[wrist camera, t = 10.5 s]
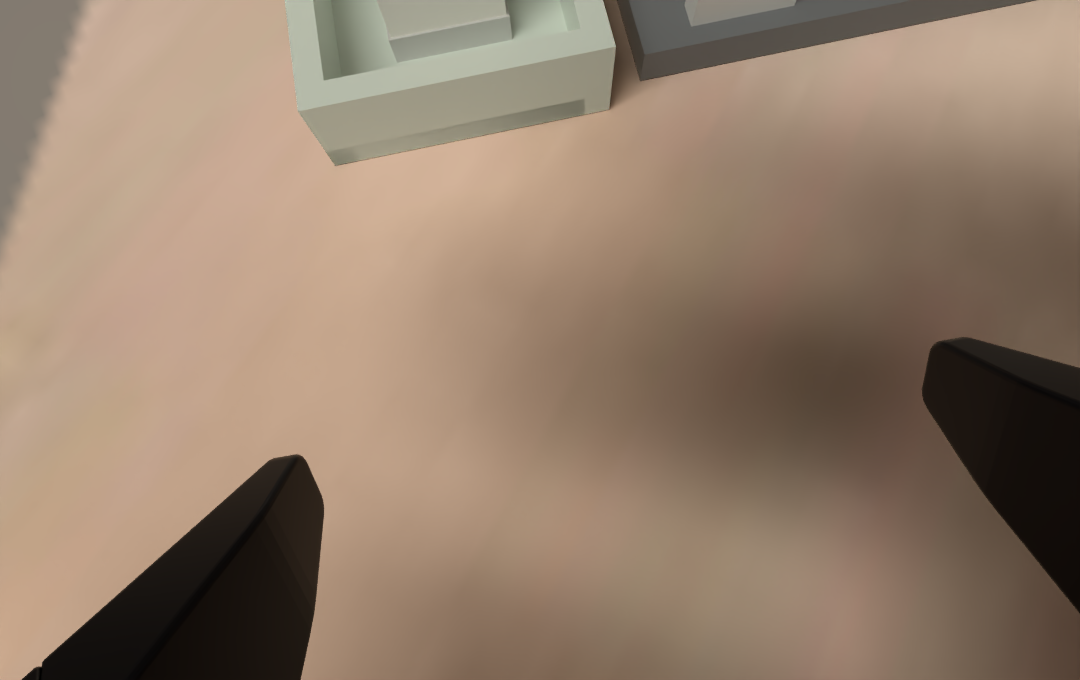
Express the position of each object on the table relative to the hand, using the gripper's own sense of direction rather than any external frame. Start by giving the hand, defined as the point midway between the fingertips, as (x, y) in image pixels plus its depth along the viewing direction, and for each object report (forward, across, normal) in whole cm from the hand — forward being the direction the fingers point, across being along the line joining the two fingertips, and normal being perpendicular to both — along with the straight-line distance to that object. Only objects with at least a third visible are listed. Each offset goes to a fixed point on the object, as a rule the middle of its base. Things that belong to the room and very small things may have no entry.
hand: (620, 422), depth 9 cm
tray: (+22, +2, -4) cm, 23 cm away
